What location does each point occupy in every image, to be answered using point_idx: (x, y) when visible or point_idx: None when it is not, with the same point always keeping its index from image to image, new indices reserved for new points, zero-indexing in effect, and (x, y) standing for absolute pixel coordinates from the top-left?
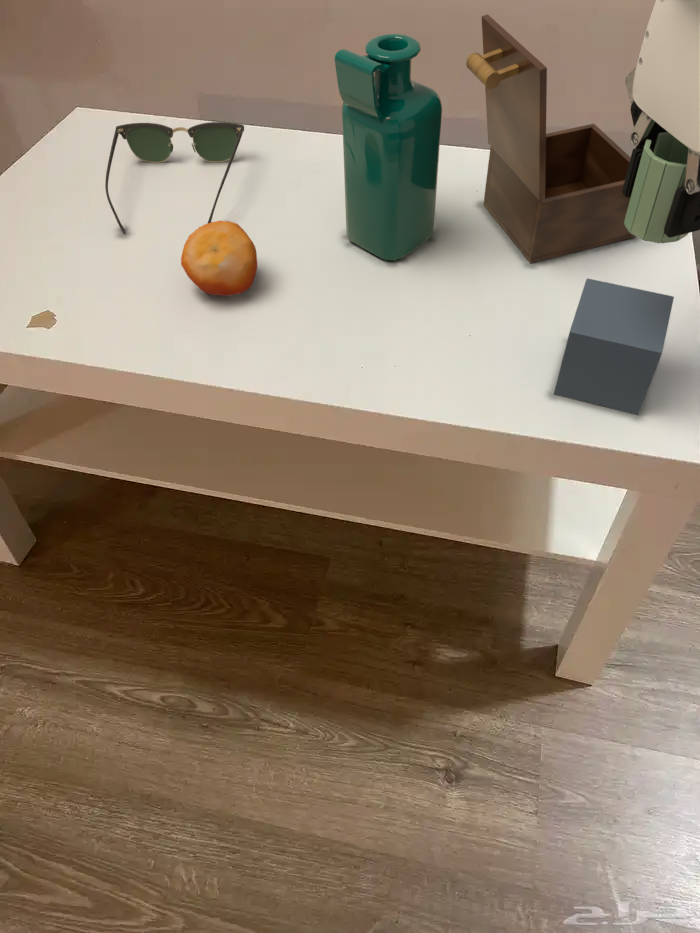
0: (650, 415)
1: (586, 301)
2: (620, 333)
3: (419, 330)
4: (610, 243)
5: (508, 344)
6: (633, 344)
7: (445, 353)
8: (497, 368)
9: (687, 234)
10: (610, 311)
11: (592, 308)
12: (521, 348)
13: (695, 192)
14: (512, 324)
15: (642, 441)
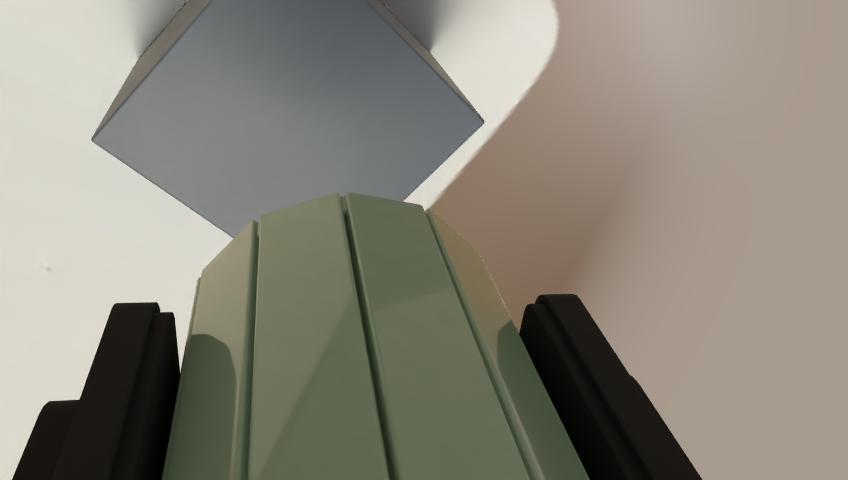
0: (443, 25)
1: (206, 197)
2: (370, 181)
3: (3, 355)
4: None
5: (105, 204)
6: (422, 172)
7: (99, 331)
8: (180, 256)
9: (482, 260)
10: (276, 159)
11: (244, 199)
12: (128, 183)
13: None
14: (28, 164)
15: (493, 87)
